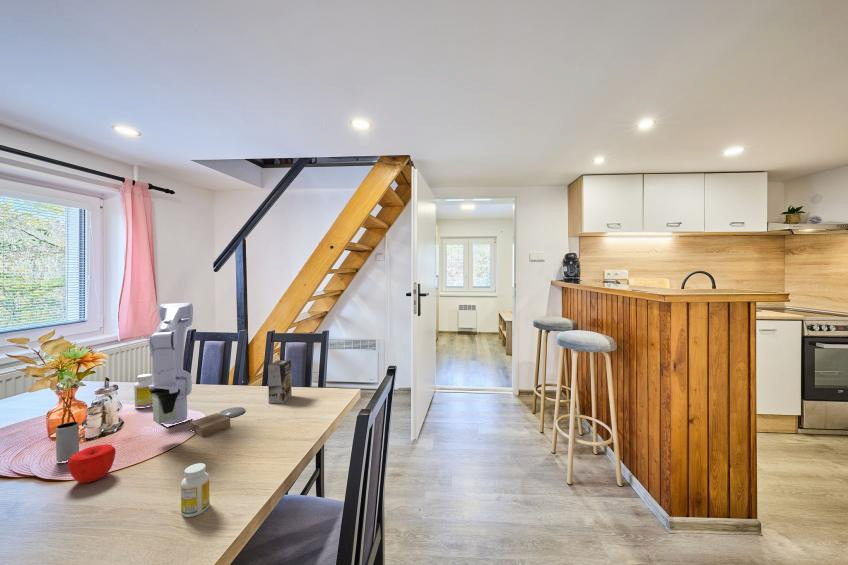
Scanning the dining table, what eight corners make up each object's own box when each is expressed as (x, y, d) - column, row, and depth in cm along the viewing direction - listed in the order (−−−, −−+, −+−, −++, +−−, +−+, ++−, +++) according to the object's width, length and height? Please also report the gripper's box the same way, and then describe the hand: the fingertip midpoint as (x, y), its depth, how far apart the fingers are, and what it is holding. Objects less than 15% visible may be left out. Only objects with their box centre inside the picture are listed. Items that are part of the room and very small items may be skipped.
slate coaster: (213, 414, 128) (213, 413, 128) (237, 407, 136) (237, 405, 136) (225, 420, 124) (225, 418, 124) (249, 411, 131) (249, 410, 131)
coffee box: (283, 403, 140) (282, 365, 139) (268, 403, 140) (267, 365, 139) (292, 395, 149) (291, 359, 148) (277, 395, 149) (277, 359, 149)
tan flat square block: (189, 430, 115) (189, 421, 115) (217, 420, 123) (217, 412, 123) (202, 437, 111) (202, 428, 111) (230, 426, 118) (230, 418, 118)
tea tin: (153, 420, 107) (152, 393, 107) (170, 415, 111) (169, 389, 111) (159, 424, 105) (157, 396, 104) (176, 418, 108) (175, 391, 108)
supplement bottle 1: (158, 405, 139) (157, 374, 138) (138, 410, 133) (137, 378, 133) (152, 402, 142) (151, 372, 142) (132, 407, 137) (131, 376, 136)
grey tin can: (82, 457, 99) (81, 422, 99) (62, 465, 95) (61, 429, 94) (73, 454, 100) (72, 420, 100) (52, 462, 96) (51, 427, 96)
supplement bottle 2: (185, 521, 72) (184, 478, 72) (178, 510, 76) (177, 468, 76) (213, 508, 77) (212, 466, 76) (205, 498, 80) (204, 458, 80)
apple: (73, 494, 82) (72, 462, 82) (63, 482, 87) (63, 452, 86) (121, 475, 89) (120, 446, 89) (109, 466, 94) (108, 438, 94)
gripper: (140, 368, 108) (141, 410, 108) (158, 375, 100) (159, 420, 101) (166, 363, 114) (167, 403, 114) (185, 370, 106) (186, 412, 106)
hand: (165, 411), depth 108 cm, fingers closed on tea tin, 5 cm apart
